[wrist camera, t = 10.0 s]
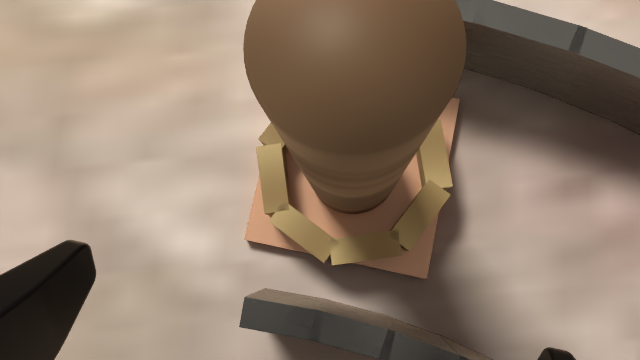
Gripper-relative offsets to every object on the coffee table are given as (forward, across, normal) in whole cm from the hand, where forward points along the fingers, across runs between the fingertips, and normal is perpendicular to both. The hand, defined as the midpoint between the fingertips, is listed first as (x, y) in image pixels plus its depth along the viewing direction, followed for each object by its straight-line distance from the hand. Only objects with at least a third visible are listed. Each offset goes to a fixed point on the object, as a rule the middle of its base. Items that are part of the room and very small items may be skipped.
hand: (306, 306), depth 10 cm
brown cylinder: (+11, 0, +4) cm, 12 cm away
